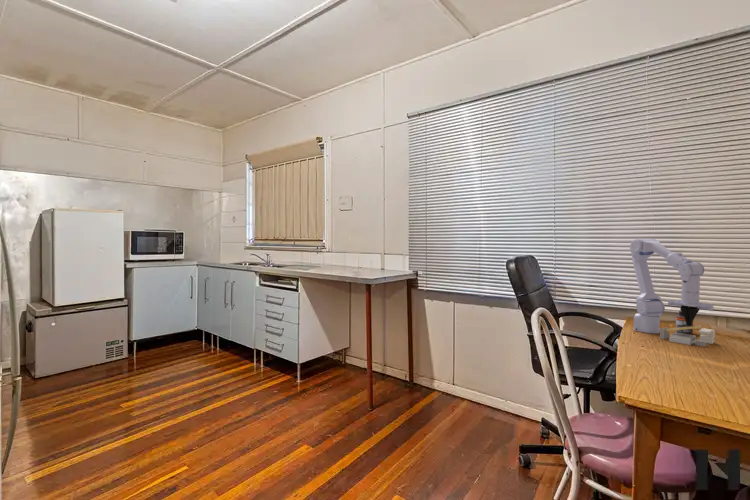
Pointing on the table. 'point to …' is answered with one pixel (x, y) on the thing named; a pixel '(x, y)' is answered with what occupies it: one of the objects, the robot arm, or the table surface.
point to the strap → (683, 328)
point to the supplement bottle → (682, 324)
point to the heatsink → (682, 338)
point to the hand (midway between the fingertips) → (689, 325)
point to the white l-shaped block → (707, 335)
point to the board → (665, 335)
